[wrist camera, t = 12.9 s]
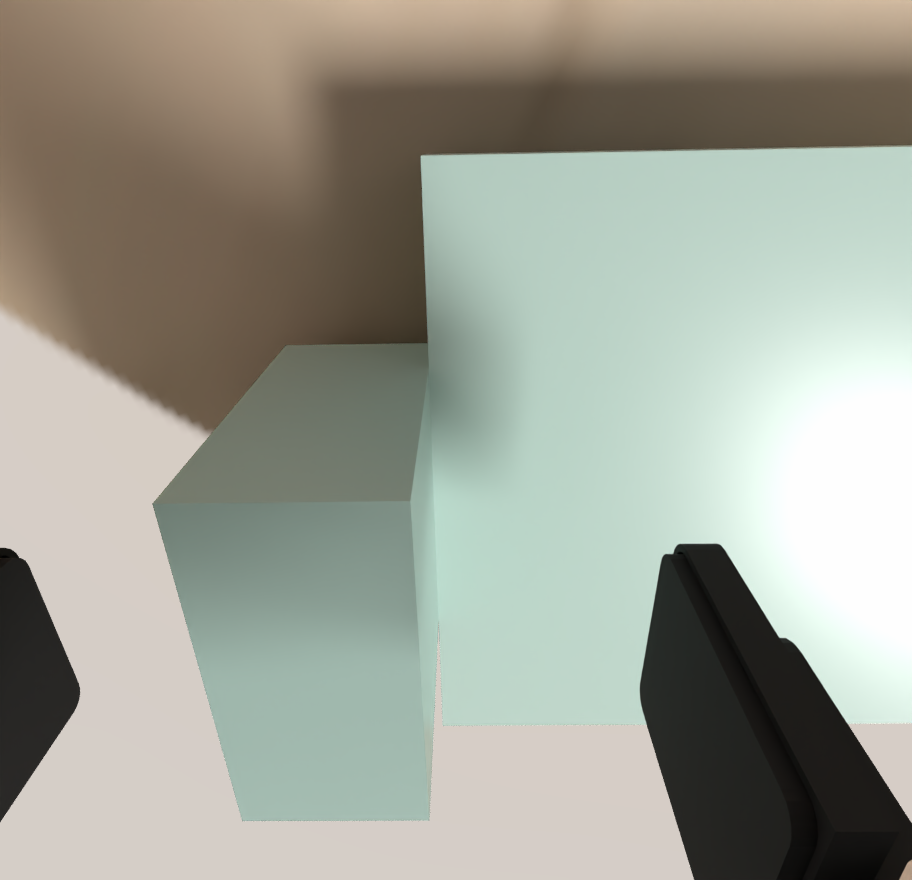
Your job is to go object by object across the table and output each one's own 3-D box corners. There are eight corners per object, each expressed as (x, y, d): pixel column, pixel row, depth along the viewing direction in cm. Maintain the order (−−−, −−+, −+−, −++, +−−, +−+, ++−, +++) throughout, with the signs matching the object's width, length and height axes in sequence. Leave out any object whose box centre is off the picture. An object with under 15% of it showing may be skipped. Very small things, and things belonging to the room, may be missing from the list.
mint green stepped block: (273, 154, 12) (59, 175, 5) (1112, 139, 12) (1889, 142, 5) (341, 651, 18) (274, 936, 11) (900, 647, 17) (1148, 936, 11)
